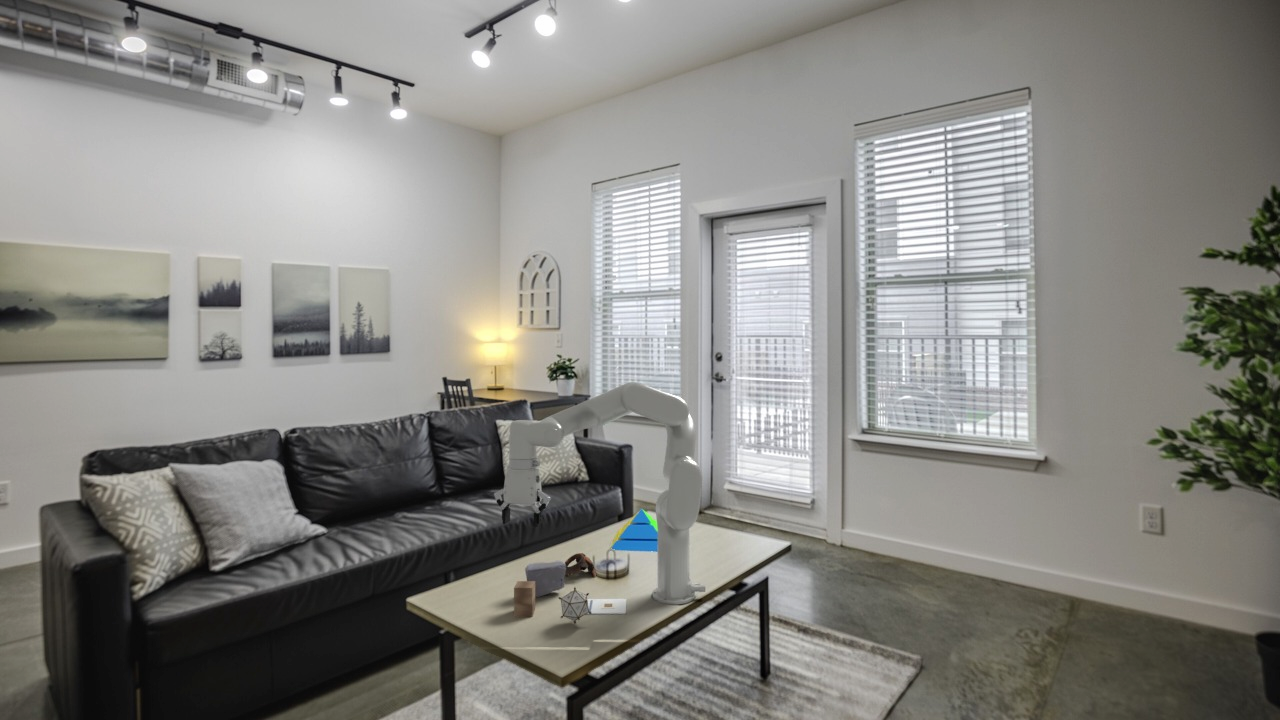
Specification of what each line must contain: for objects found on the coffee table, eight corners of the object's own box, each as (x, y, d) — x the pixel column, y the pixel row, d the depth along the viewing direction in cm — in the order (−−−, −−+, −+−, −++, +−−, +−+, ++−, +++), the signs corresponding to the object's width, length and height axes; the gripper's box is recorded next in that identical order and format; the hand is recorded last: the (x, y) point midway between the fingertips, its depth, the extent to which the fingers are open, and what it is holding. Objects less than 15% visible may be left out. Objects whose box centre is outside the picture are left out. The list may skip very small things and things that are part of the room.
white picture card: (626, 599, 183) (626, 598, 183) (625, 614, 173) (625, 612, 173) (585, 600, 183) (585, 598, 183) (582, 614, 173) (582, 612, 173)
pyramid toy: (604, 555, 225) (604, 516, 225) (612, 536, 250) (612, 500, 250) (674, 557, 223) (674, 517, 223) (675, 537, 248) (675, 501, 248)
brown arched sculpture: (598, 582, 197) (586, 561, 196) (571, 594, 198) (559, 574, 196) (598, 561, 209) (587, 541, 207) (573, 573, 210) (561, 554, 208)
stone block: (526, 601, 182) (525, 567, 182) (524, 595, 186) (524, 562, 186) (566, 597, 185) (566, 563, 185) (564, 591, 189) (564, 558, 189)
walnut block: (535, 609, 176) (535, 581, 176) (532, 616, 171) (532, 587, 171) (517, 609, 176) (517, 581, 176) (514, 617, 171) (513, 587, 171)
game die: (551, 625, 165) (551, 588, 165) (572, 614, 172) (572, 578, 172) (577, 634, 160) (577, 595, 160) (598, 622, 167) (598, 585, 167)
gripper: (556, 464, 178) (555, 524, 178) (502, 460, 183) (501, 518, 183) (544, 468, 171) (543, 531, 171) (488, 464, 176) (487, 525, 176)
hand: (521, 524), depth 177 cm, fingers open, 9 cm apart
